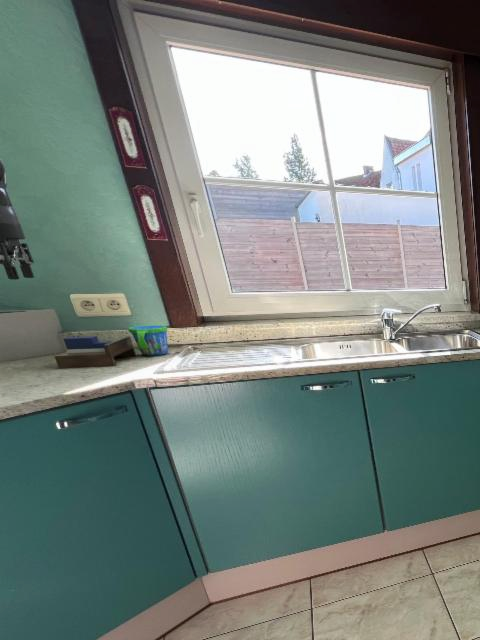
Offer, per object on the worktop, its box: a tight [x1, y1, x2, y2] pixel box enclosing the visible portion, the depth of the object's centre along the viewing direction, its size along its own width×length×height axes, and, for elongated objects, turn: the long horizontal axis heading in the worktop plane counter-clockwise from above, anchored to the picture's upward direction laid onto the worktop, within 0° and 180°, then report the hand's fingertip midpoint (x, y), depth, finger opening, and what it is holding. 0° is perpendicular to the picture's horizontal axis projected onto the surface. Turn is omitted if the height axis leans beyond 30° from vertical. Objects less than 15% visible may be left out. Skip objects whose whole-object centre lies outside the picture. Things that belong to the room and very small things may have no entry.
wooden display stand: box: [54, 335, 137, 369], centre depth 170 cm, size 14×20×7 cm
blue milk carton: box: [63, 335, 112, 353], centre depth 166 cm, size 11×5×5 cm, turn 115°
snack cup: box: [128, 324, 169, 357], centre depth 183 cm, size 16×10×10 cm
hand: (22, 278), depth 153 cm, fingers open, 8 cm apart
